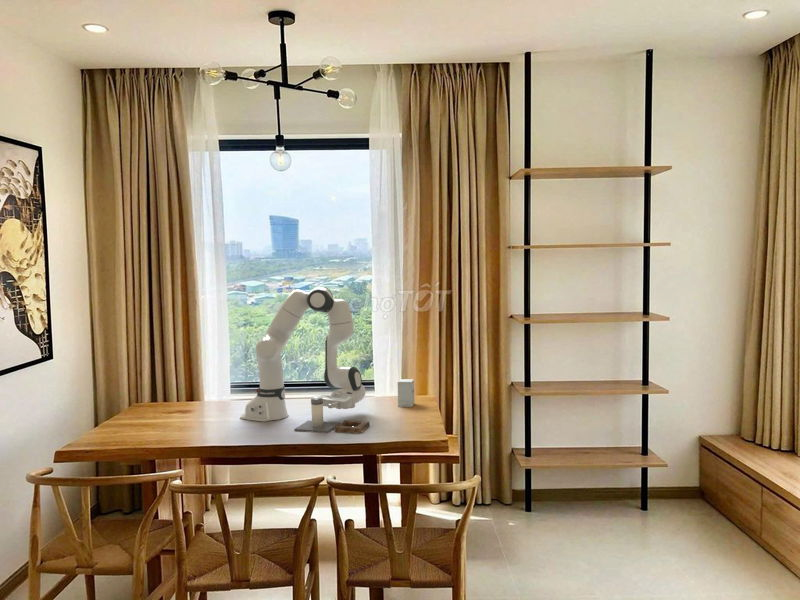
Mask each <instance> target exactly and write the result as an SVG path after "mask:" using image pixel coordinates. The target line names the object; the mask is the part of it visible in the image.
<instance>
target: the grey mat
mask: <svg viewBox="0 0 800 600" xmlns="http://www.w3.org/2000/svg"><path fill="white" fill-rule="evenodd" d="M340 423H341V422H339V421H338V422H336V421H323V426H322V427H312V420H307V421H304V423H302V424H299V426H296V428H294V429H293V431H294V430H297V431H296V432H306V431H313V432H312V433H322V432H326V433H327V434H328V432H329V433H330V432H331V430H332V431H333V430H335V429H334V428H335V427H336V426H337V425H339V424H340ZM326 433H325V434H326Z"/></svg>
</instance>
